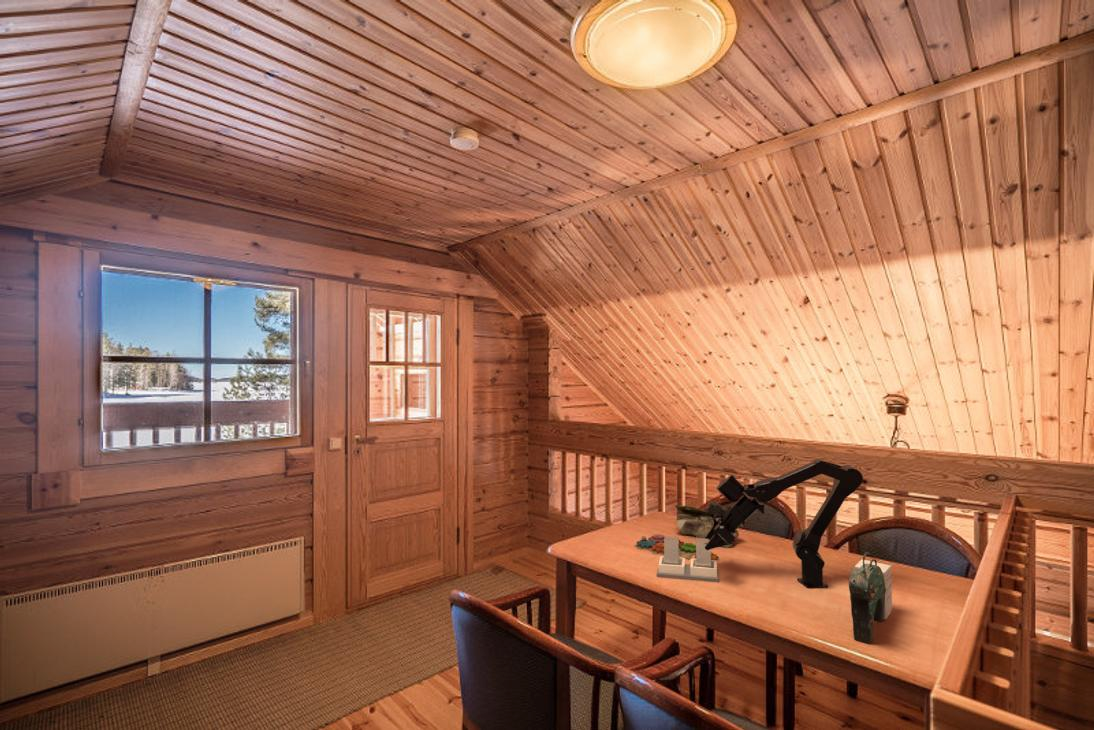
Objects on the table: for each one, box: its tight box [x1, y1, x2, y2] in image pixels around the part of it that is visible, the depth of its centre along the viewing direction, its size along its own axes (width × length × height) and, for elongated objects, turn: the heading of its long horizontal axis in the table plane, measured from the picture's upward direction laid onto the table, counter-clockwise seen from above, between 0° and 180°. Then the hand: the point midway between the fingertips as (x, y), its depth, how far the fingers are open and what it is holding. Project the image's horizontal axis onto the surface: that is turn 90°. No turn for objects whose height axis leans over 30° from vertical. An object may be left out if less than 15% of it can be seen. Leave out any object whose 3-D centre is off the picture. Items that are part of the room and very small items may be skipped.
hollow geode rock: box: [674, 504, 744, 549], centre depth 209 cm, size 28×13×15 cm
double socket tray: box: [656, 555, 720, 583], centre depth 175 cm, size 19×11×4 cm, turn 73°
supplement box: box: [854, 558, 893, 621], centre depth 145 cm, size 7×7×13 cm
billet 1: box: [663, 535, 680, 565], centre depth 177 cm, size 4×4×10 cm
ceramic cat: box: [848, 551, 886, 645], centre depth 135 cm, size 20×6×20 cm, turn 137°
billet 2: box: [695, 537, 712, 568], centre depth 174 cm, size 4×4×10 cm
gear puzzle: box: [633, 533, 720, 561], centre depth 196 cm, size 31×16×4 cm, turn 41°
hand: (705, 544), depth 174 cm, fingers open, 9 cm apart
